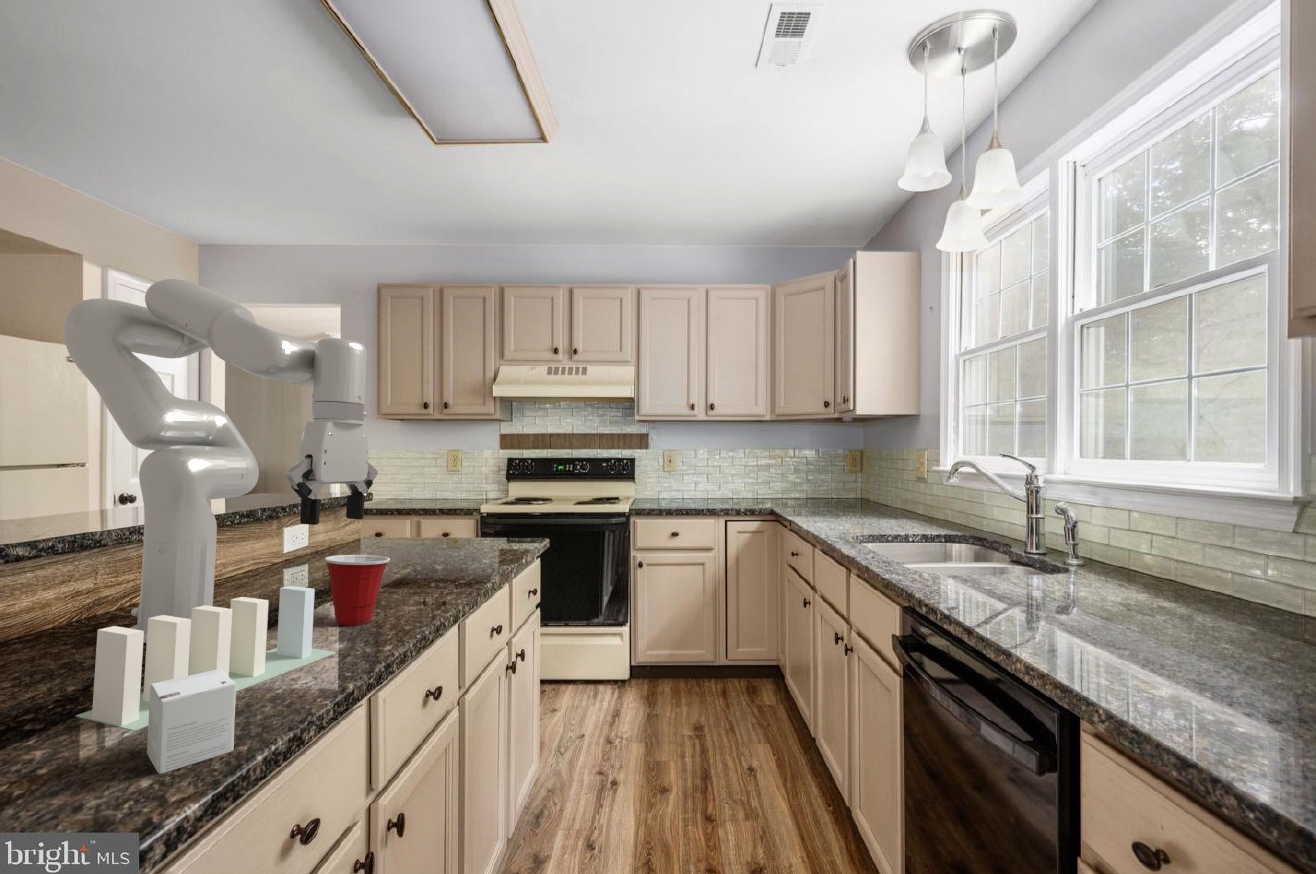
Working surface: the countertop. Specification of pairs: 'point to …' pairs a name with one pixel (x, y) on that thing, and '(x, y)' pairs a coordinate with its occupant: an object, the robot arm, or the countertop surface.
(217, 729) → the skincare box
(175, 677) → the domino
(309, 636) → the domino
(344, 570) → the plastic cup
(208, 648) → the domino
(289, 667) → the strip
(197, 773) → the countertop surface
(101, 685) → the domino
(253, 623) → the domino
